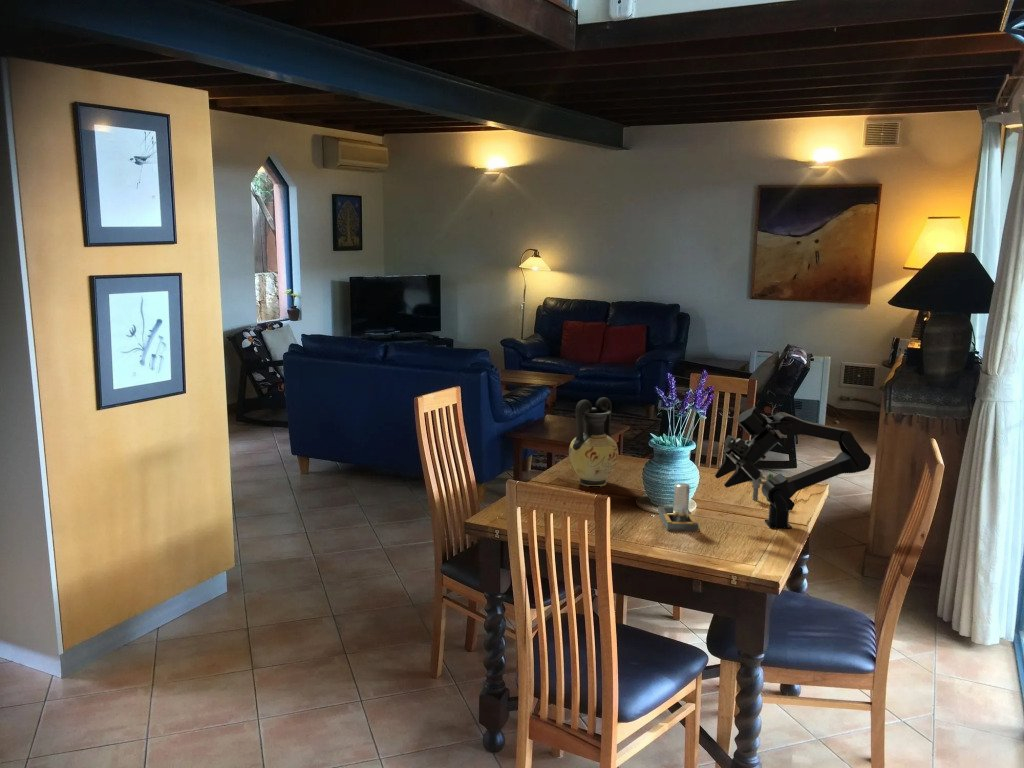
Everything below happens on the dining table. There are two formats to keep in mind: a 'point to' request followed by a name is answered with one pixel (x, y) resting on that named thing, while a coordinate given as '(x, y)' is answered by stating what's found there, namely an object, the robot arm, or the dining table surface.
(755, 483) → the mechanical component
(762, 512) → the dining table surface
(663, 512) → the grey tray
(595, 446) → the amphora
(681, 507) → the steel peg
